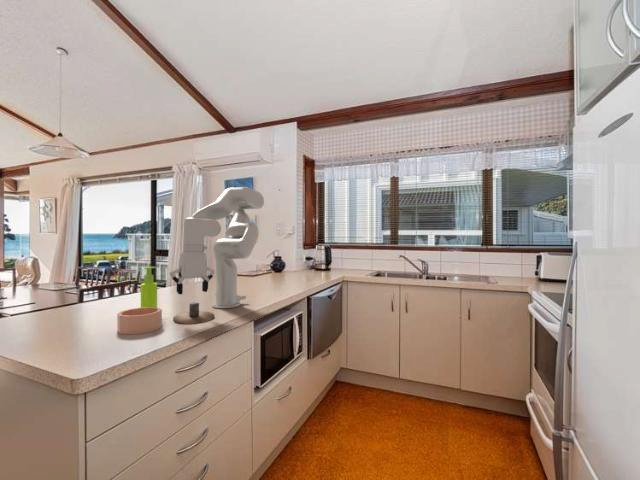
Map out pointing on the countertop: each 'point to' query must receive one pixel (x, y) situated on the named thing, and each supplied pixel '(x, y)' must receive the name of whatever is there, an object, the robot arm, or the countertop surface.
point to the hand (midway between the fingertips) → (192, 292)
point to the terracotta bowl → (139, 320)
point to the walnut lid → (193, 315)
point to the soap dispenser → (149, 290)
